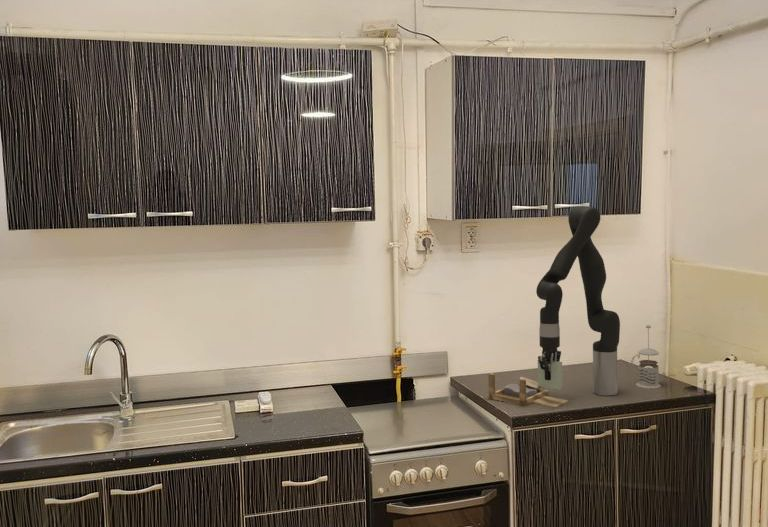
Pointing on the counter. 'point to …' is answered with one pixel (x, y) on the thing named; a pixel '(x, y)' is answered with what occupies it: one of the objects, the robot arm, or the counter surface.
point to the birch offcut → (532, 384)
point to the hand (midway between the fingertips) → (549, 378)
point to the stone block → (518, 391)
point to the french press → (643, 379)
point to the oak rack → (520, 401)
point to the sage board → (555, 376)
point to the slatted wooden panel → (550, 401)
